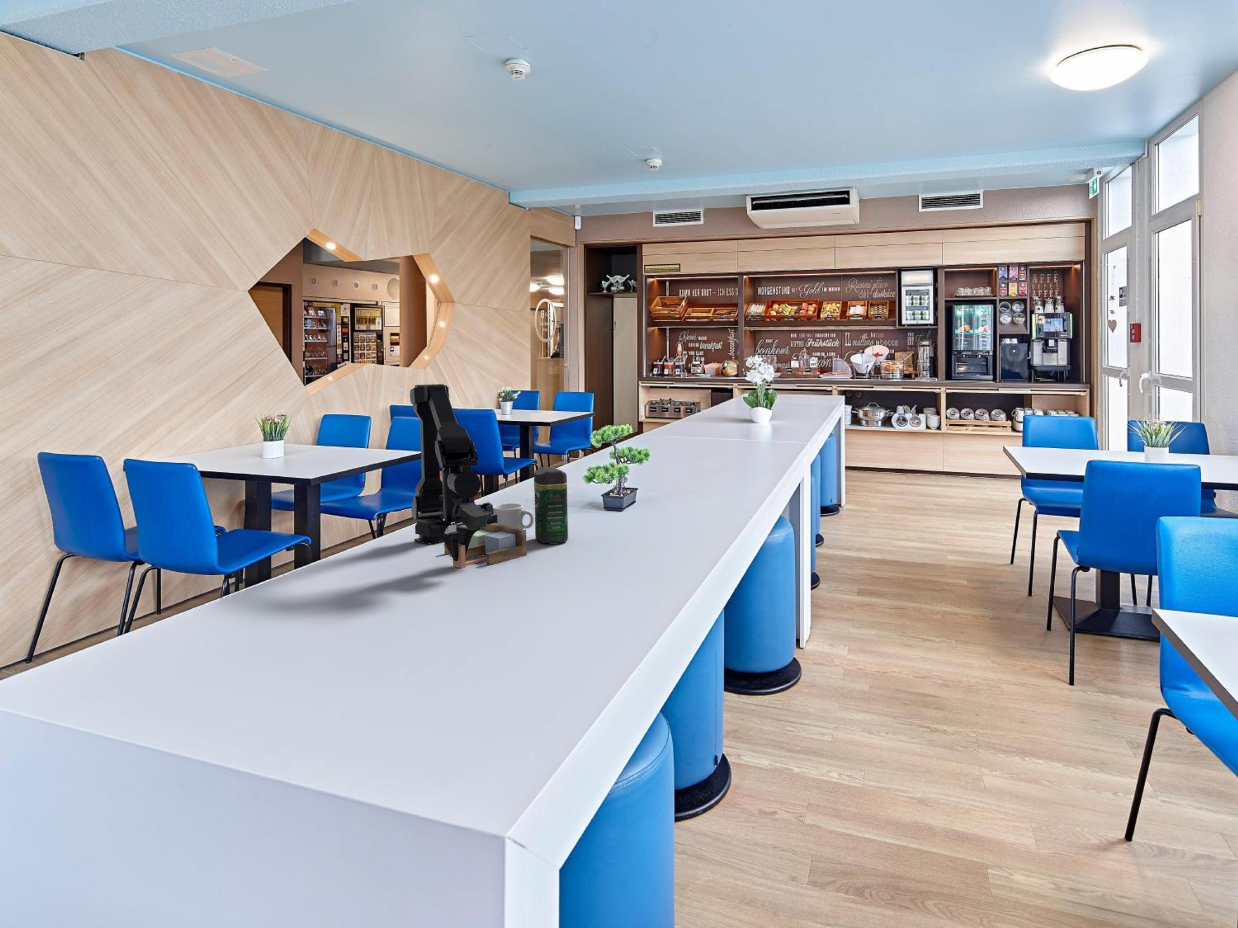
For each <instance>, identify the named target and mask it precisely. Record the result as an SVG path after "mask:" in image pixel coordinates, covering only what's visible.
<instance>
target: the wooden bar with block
mask: <svg viewBox="0 0 1238 928" xmlns="http://www.w3.org/2000/svg"><path fill="white" fill-rule="evenodd" d="M513 546H516V543H515V534H511V533H506V532H497V533H492V534H488V535H485V555H484V556H482V557H480V558H479V557H478V558H474V559H471V560H469V561H466V560H467V559H466V558H465V545H462V544H458V561H454V560H453V559H452V566H453V567H455V568H459V569H464V568H466V567H467V566H470V565H473V564H476V563H480V562H486V553H489V552H493V551H497V550H501V549H505V548H509V547H513Z"/></svg>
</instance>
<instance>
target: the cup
mask: <svg viewBox="0 0 1238 928" xmlns="http://www.w3.org/2000/svg"><path fill="white" fill-rule="evenodd" d="M493 510H494V511H495V512H496V514H497V518H498V522H497V523H494V524H499V525H504V526H509V527H514V528H519V529H524V530H527V529H530V528H532V526H533V525H534V523H535V515H534V513H533V512H532V511H530V510H527V509H524V506H523V504H520V503H511V502H509V503H499V504H495V505H494V504H493ZM526 515H528V516H529V518H530V522H529V524H525V522H524V517H525V516H526Z"/></svg>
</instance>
